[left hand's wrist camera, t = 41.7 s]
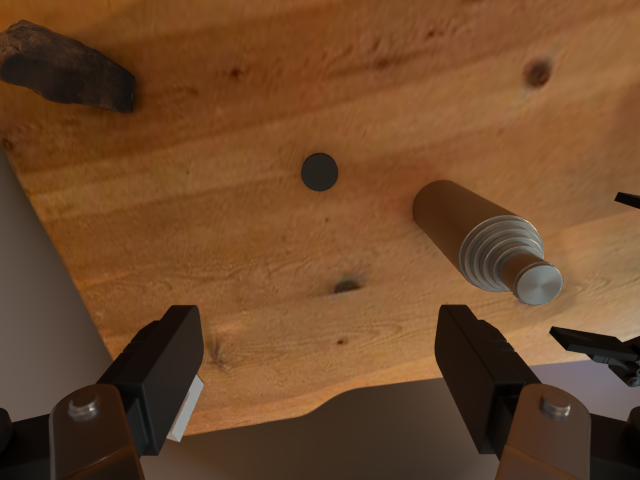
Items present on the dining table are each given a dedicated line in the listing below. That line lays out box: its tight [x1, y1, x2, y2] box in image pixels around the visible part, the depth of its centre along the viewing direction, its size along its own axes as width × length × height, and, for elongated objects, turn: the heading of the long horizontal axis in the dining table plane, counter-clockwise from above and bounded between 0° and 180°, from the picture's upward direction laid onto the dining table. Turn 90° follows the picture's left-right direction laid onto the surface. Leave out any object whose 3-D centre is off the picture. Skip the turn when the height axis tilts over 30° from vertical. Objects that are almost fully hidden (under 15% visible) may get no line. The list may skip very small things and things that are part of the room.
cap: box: [301, 153, 338, 191], centre depth 42 cm, size 4×4×2 cm
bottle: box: [413, 180, 563, 305], centre depth 34 cm, size 7×7×22 cm
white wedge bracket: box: [166, 375, 204, 442], centre depth 50 cm, size 4×10×9 cm
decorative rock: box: [0, 20, 135, 113], centre depth 34 cm, size 12×6×11 cm, turn 63°
